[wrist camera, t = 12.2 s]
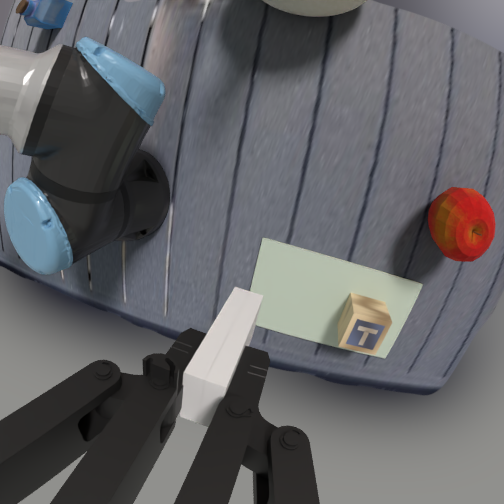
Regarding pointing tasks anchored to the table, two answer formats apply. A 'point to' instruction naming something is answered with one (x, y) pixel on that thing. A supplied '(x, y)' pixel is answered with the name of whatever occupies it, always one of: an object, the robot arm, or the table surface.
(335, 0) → the kettle
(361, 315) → the wooden block
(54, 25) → the blue corked bottle
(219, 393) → the robot arm
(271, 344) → the table surface
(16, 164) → the table surface
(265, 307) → the felt mat
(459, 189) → the apple
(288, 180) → the table surface
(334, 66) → the table surface
